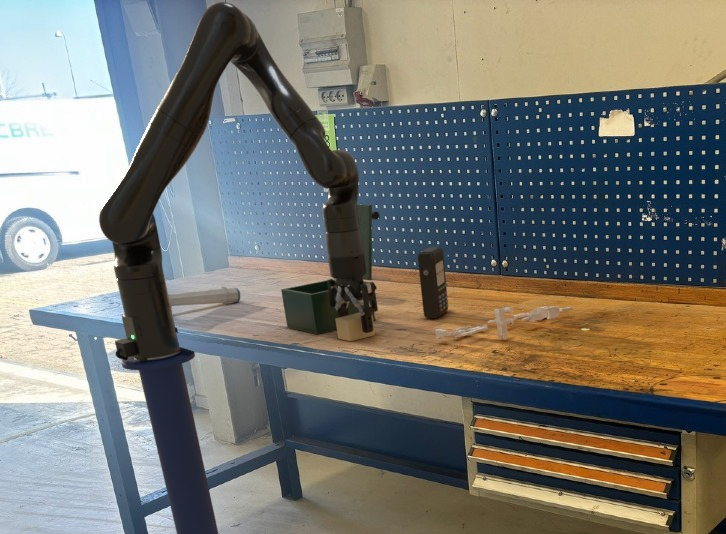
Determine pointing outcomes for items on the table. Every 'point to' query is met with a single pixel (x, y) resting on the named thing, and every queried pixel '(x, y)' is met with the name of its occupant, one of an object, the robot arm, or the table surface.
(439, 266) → the card reader
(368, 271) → the bin lid
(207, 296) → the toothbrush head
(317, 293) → the bin
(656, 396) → the table surface
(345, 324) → the beige rectangular block
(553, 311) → the grey elongated piece
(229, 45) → the robot arm
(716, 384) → the table surface
